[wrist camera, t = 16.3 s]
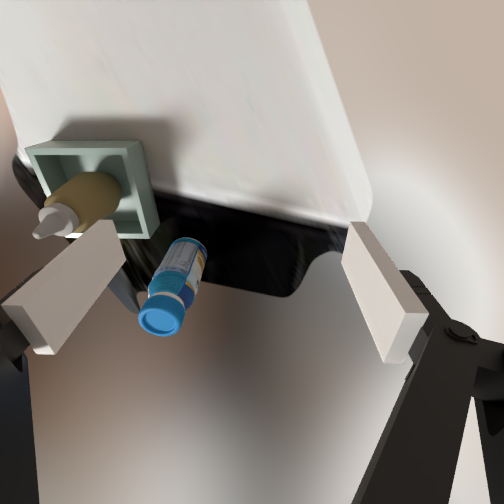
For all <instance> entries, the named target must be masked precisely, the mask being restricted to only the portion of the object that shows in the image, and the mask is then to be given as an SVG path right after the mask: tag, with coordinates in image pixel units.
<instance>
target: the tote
mask: <svg viewBox="0 0 504 504" xmlns="http://www.w3.org/2000/svg"><path fill="white" fill-rule="evenodd" d="M24 149H25V151H26V153H27V155H28V157H29V159H30V162H31V164H32V166H33V168H34V170H35V172H36V175H37V177H38V179H39V181H40V183H41V185H42V188H43V190H44V192H45V194H46V196H47V197H48V196H50V195H51V194H52V193H54V192H55V191H56V190H57V189H59V188H60V187H61V186H63V185H64V184H65V183H67V182H68V181H69V180H70V179H72V178H73V177H74V176H76V175H77V174H79V173H81V172H83V171H94V172H106V173H108V174H111V175H112V176H113V177H115V178H116V179H117V181H118V182H119V183H120V185H121V189H122V195H121V199H120V203H119V207H118V208H117V209H116V211H115V212H114V213H112V214H111V215H109V216H107V217H106V218H104V219H103V220H113V223H114V226H115V229H116V232H117V235H118V238H144V239H150V237H151V236H152V235H153V233H154V232H155V230H156V229H157V227H158V226H159V225H160V221H159V216H158V212H157V207H156V203H155V199H154V194H153V190H152V185H151V181H150V176H149V172H148V168H147V163H146V159H145V154H144V150H143V145H142V141H141V140H50V141H47V142H44V143H40V144H37V145H33V146H30V147H27V148H24ZM87 230H88V229H87ZM87 230H85V231H87ZM85 231H83V232H81V233H71V234H70V235H67V236H65V237H66V238H79V237H80V236H81V235H82V234H83V233H84V232H85Z"/></svg>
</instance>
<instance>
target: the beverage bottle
mask: <svg viewBox="0 0 504 504" xmlns="http://www.w3.org/2000/svg"><path fill="white" fill-rule="evenodd" d="M206 260H207V251H206V249H205V247H204V246H203V245H202V244H201V243H200V242H199V241H197V240H195V239H193V238H180V239H177V240H175V241H174V242H173V243H172V244H171V246H170V248H169V250H168V252H167V254H166V256H165V258H164V259H163V261H162V263H161V265H160V266H159V268H158V269H157V270H156V272H155V274H154V276H153V279H152V281H151V282H150V284H149V287H148V299H147V300H146V302H145V303H144V305H143V307H142V309H141V311H140V313H139V318H138V320H139V323H140V325H141V326H142V328H144V329H145V330H146V331H147V332H149V333H151V334H154V335H157V336H170V335H173V334H175V333H177V332H178V331H179V329H180V327H181V325H182V322H183V319H184V316H185V311H186V310H187V309H188V308H189V307H190V306H191V305H192V303H193V302H194V299H195V295H196V293H197V291H198V288H199V282H200V279H201V276H202V272H203V269H204V266H205V263H206Z"/></svg>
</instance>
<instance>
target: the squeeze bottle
mask: <svg viewBox="0 0 504 504" xmlns="http://www.w3.org/2000/svg"><path fill="white" fill-rule="evenodd" d="M121 195H122V189H121V185H120V183H119V182H118V181H117V179H116V178H115V177H113V176H112V175H111V174H108V173H106V172H94V171H83V172H81V173H79V174H77V175H76V176H74V177H73V178H72V179H70V180H69V181H68V182H67V183H65V184H64V185H63V186H61V187H60V188H59V189H57V190H56V191H55V192H54V193H52V194H51V195H50V196H48V197H47V199H46V201H45V203H44V204H45V207H44V208H43V209H41V210H40V212H39V220H40V222H41V223H40V224H39V225H38V227H37V228H36V229H35V230H34V231H33V233H32V234H33V236H34V237H35V238H36V239H42V238H44V237H47V236H49V235H52V234H55V235H58V236H67V235H70V234H71V233H81V232H83V231H85V230H87V229H89V228H90V227H91V226H92V225H94V224H95V223H96V222H97V221H98V220H103V219H104V218H106V217H107V216H109V215H111V214H112V213H114V212H115V211H116V209H117V208H118V207H119V203H120V199H121Z"/></svg>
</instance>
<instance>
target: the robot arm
mask: <svg viewBox="0 0 504 504" xmlns="http://www.w3.org/2000/svg"><path fill="white" fill-rule="evenodd" d="M125 261H126V258H125V256H124V253H123V250H122V247H121V244H120V241H119V238H118V235H117V232H116V229H115V226H114V223H113V220H98V221H97V222H96V223H95V224H94V225H92V226H91V227H90V228H89V229H88V230H87V231H85V232H84V233H83V234H82V235H81V236H80V237H79V238H77V239H76V240H75V241H74V242H73V243H72V244H70V245H69V246H68V247H67V248H66V249H65V250H64V251H62V252H61V253H60V254H59V255H58V256H57V257H55V259H53V260H52V261H51V262H50V263H49V264H47V265H46V266H44V267H42V268H40V269H39V270H37V271H35V272H33V273H32V274H31V275H30V276H29V277H27V278H26V279H25V280H24V282H21V283H20V284H19V285H18V286H17V287H16V288H15V289H13V290H12V291H11V292H9V293H8V294H7V295H6V296H5V297H4V298H2V299H1V300H0V504H39V492H38V480H37V469H36V456H35V445H34V433H33V420H32V410H31V409H32V408H31V396H30V384H29V372H28V360H27V357H26V355H25V353H24V351H25V350H26V348H27V347H28V346H29V345H31V347H32V348H33V350H34V351H35V352H36V353H37V354H56V353H57V351H58V350H59V349H60V347H61V346H62V345H63V343H64V342H65V341H66V339H67V338H68V337H69V335H70V334H71V333H72V331H73V330H74V328H75V327H76V326H77V325H78V323H79V322H80V321H81V319H82V318H83V317H84V315H85V314H86V313H87V311H88V310H89V309H90V307H91V306H92V305H93V303H94V302H95V301H96V299H97V298H98V297H99V295H100V294H101V293H102V291H103V290H104V289H105V287H106V286H107V285H108V283H109V282H110V281H111V279H112V278H113V277H114V275H115V274H116V273H117V271H118V270H119V269H120V267H121V266H122V265H123V263H124V262H125ZM341 264H342V266H343V268H344V271H345V273H346V275H347V278H348V280H349V282H350V285H351V287H352V290H353V292H354V294H355V297H356V299H357V301H358V304H359V306H360V309H361V311H362V313H363V316H364V318H365V320H366V323H367V325H368V328H369V330H370V332H371V335H372V337H373V339H374V342H375V344H376V347H377V349H378V351H379V353H380V356H381V358H382V361H383V363H404V361H405V359H406V358H407V356H408V354H409V355H410V357H411V359H412V361H413V363H414V364H413V366H412V367H411V369H410V371H409V373H408V375H407V376H406V378H405V380H406V381H405V383H404V385H403V387H402V390H401V392H400V394H399V397H398V399H397V401H396V403H395V406H394V408H393V411H392V412H391V415H390V417H389V419H388V422H387V424H386V426H385V428H384V431H383V433H382V435H381V437H380V440H379V442H378V444H377V447H376V449H375V451H374V454H373V456H372V458H371V460H370V462H369V465H368V467H367V469H366V472H365V474H364V476H363V478H362V481H361V483H360V485H359V488H358V490H357V492H356V494H355V497H354V499H353V501H352V503H351V504H448V503H449V498H450V493H451V489H452V484H453V479H454V475H455V470H456V465H457V461H458V456H459V451H460V446H461V441H462V437H463V432H464V427H465V423H466V418H467V414H468V409H469V404H470V400H471V396H472V397H474V400H475V407H476V413H477V419H478V426H479V432H480V439H481V445H482V451H483V458H484V464H485V471H486V477H487V483H488V489H489V496H490V503H491V504H504V344H502V343H498V342H494V341H490V340H486V339H482V338H480V337H479V335H478V334H477V332H475V331H474V330H473V329H471V327H469V326H467V325H465V324H463V323H462V322H459V321H456V320H453V319H451V318H450V317H449V316H448V314H447V313H446V312H445V311H444V309H443V308H442V307H441V305H440V304H439V303H438V302H437V300H436V299H435V298H434V297H433V295H431V293H430V291H429V290H428V289H427V288H426V287H425V285H424V284H423V282H422V281H421V280H420V279H419V277H417V276H416V275H414V274H413V273H412V272H410V271H409V270H408V271H407V270H398V269H397V267H396V266H395V264H394V263H393V261H392V260H391V259H390V257H389V256H388V254H387V253H386V251H385V250H384V249H383V247H382V246H381V244H380V243H379V242H378V240H377V239H376V237H375V236H374V234H373V233H372V232H371V230H370V229H369V227H368V226H367V225H366V223H365V222H350V225H349V230H348V234H347V239H346V243H345V248H344V252H343V257H342V262H341Z"/></svg>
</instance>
